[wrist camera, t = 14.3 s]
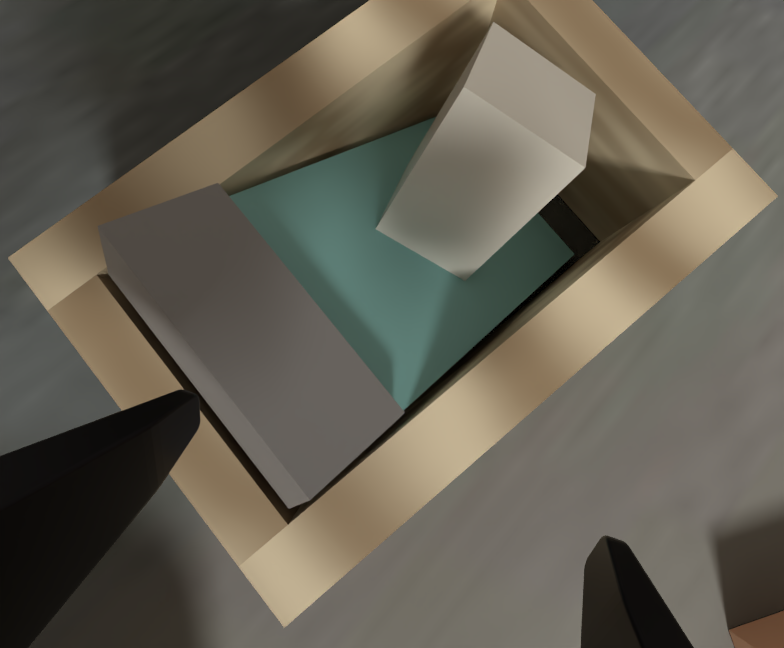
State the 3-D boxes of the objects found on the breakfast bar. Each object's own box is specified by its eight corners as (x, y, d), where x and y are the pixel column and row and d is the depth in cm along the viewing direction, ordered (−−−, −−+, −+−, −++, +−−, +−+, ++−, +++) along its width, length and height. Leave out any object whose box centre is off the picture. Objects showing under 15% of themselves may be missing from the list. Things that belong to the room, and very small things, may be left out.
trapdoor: (289, 508, 15) (310, 500, 13) (108, 274, 16) (97, 225, 13) (550, 272, 25) (589, 243, 23) (432, 137, 26) (458, 96, 24)
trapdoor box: (316, 546, 22) (284, 627, 15) (124, 297, 23) (7, 257, 16) (658, 252, 24) (777, 196, 17) (467, 42, 26) (502, -95, 18)
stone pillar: (465, 281, 20) (585, 167, 14) (375, 229, 19) (463, 86, 13) (485, 214, 22) (595, 94, 16) (406, 165, 21) (493, 21, 16)
